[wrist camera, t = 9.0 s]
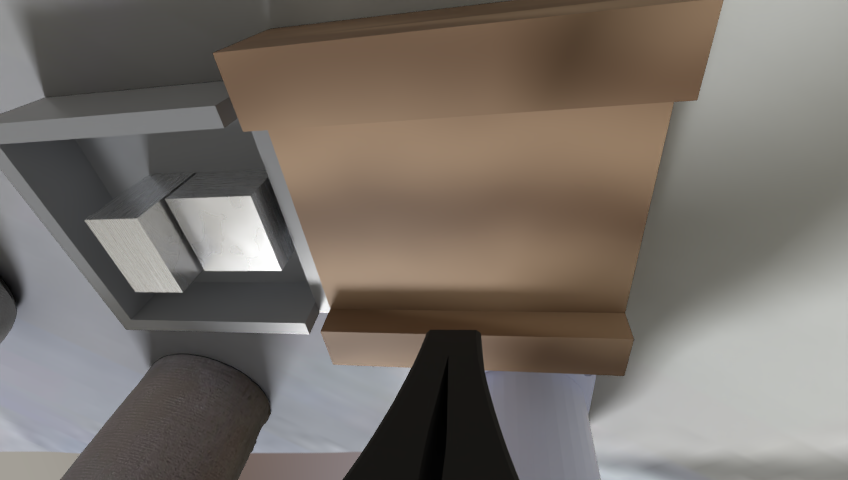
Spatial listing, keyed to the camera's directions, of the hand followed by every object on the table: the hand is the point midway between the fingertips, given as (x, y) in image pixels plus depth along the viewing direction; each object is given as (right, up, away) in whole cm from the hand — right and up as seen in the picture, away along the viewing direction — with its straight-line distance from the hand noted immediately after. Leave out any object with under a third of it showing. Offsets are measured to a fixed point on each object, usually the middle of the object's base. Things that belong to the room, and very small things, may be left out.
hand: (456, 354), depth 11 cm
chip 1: (-12, +3, +8) cm, 15 cm away
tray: (-12, +5, +10) cm, 16 cm away
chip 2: (-9, +5, +9) cm, 14 cm away
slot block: (+1, +5, +8) cm, 9 cm away
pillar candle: (-18, -9, +22) cm, 29 cm away
